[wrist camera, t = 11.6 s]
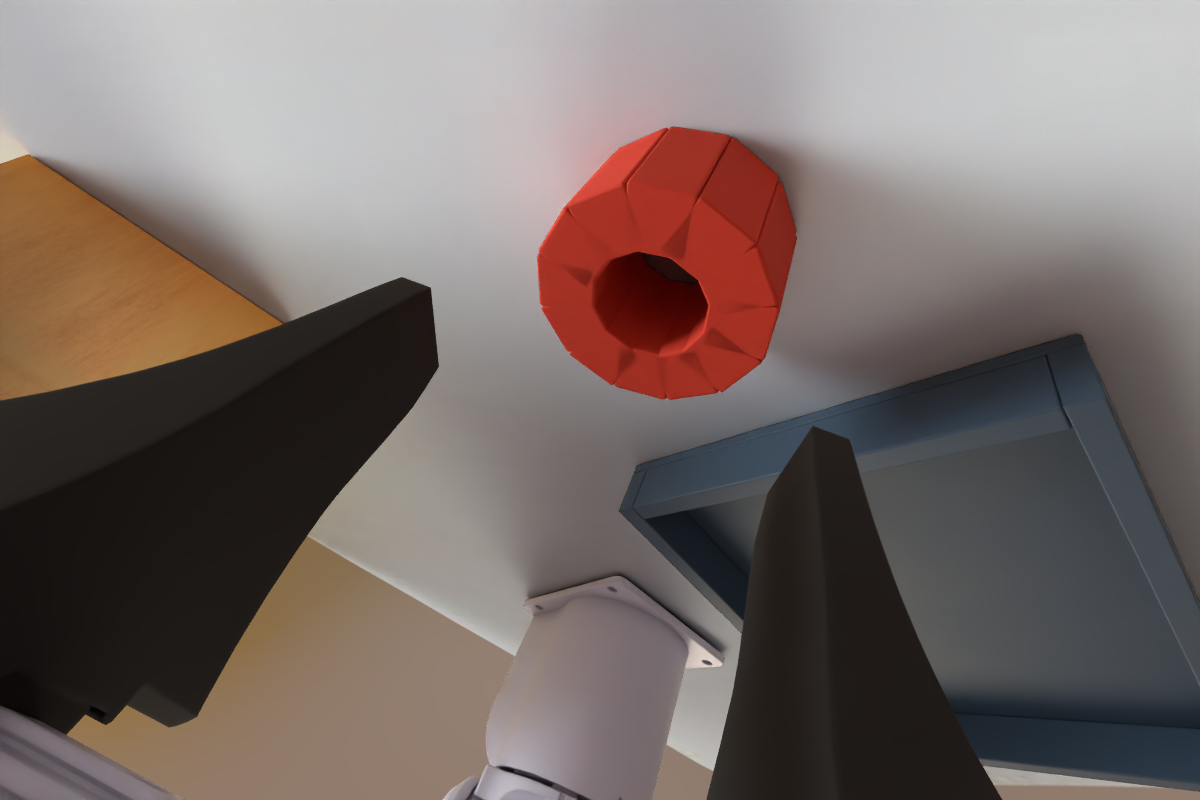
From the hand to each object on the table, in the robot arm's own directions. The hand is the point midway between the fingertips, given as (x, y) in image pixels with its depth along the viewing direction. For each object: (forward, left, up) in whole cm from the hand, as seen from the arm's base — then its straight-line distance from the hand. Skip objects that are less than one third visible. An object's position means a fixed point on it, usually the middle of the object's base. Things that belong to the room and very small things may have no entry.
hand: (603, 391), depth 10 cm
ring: (0, 0, -6) cm, 6 cm away
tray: (-2, -15, -6) cm, 17 cm away
